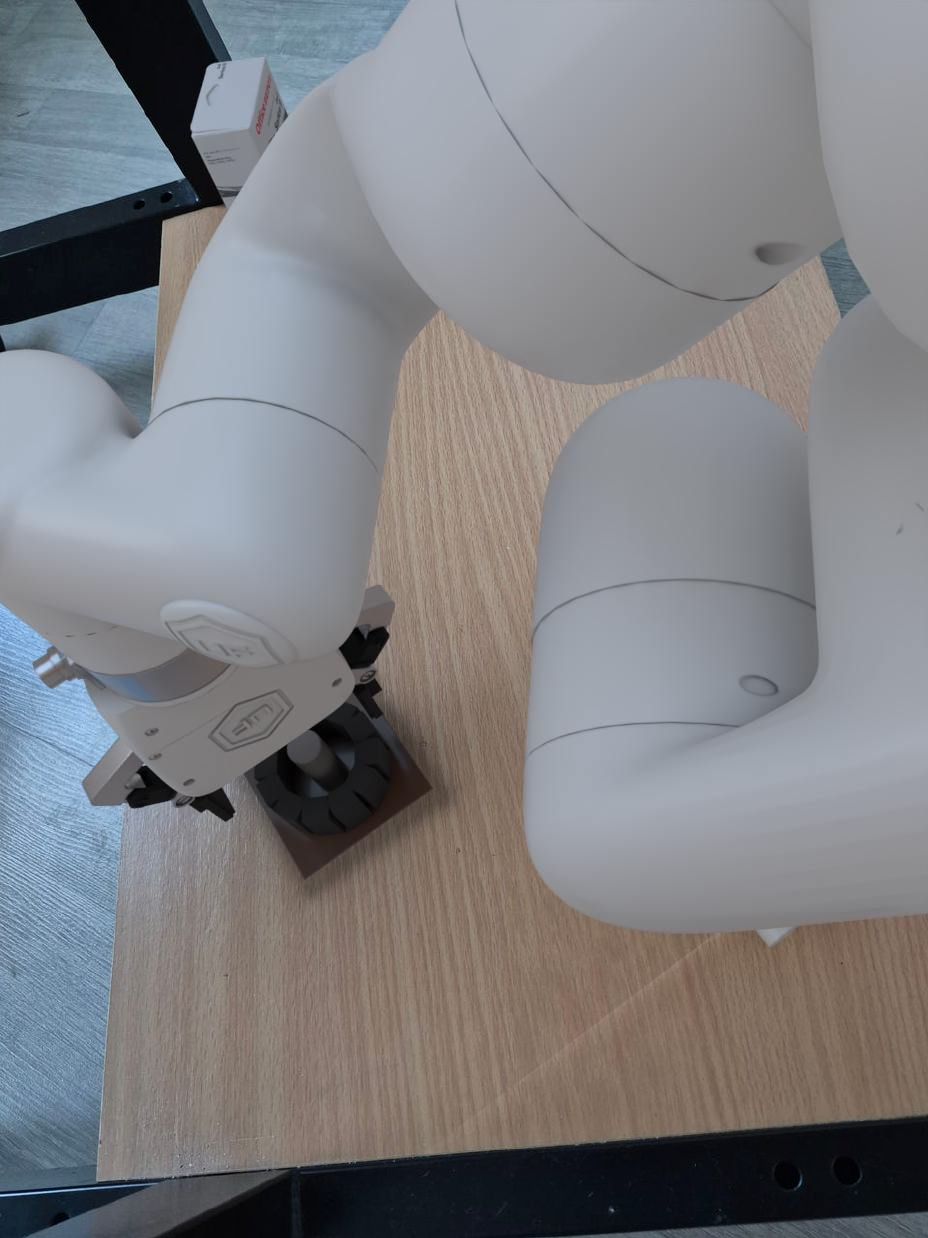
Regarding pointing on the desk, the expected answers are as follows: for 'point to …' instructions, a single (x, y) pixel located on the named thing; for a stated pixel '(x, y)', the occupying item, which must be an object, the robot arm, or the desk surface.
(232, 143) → the ink box
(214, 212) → the desk surface
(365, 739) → the black gear
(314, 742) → the peg stand
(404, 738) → the desk surface
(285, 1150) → the desk surface
